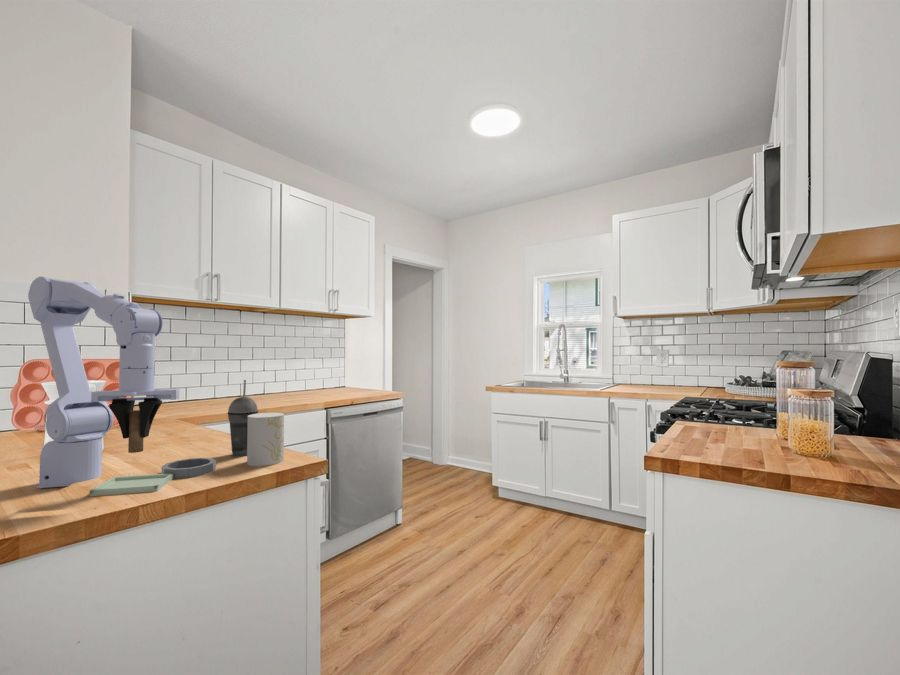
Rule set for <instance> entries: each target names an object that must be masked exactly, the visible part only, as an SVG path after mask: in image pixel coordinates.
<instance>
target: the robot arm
mask: <svg viewBox="0 0 900 675" xmlns="http://www.w3.org/2000/svg"><path fill="white" fill-rule="evenodd" d="M27 298H28V302H29V305H30V309H31V313H32V316H33V319H34V320H36V321H38V322H39V323H40V328H41V330H42V331H41V332H42V334H43V335H42V336H43V340H44V343H45V347H46V350H47V353H48V354H47V355H48V358H49V362H50V365H51V370H52V373H53V378H54V382H55V386H56V389H57V393H58V394H57V395H58V398H56V399H55V400H54V401H52V402H51V403H50V404H49V405H48V406H46V409H45V417H46V418H45V419H46V420H45V429H46V430H45V431H46V433H47V435H48V437H49V438H50V439H51V441H48V442H46V443H45V444H44V445H43V447H42V449H41V451H40V455H39V478H38V479H39V484H38V485H37V486H36V489H44V488H45V489H46V488H59V487H60V488H61V487H69V486H71V485H73V484H75V483H80V482H87V481H91V480H94V479H98V478H99V477H101V476H102V469H103V468H102V464H103V463H102V460H103V437H107V433H108V432H109V431H110V430H111V429H112V427H113V425H114V417H115V419H116V420H117V423H118V425H119V427H120V431H121V435H122V436H121V437H122V439H124V440H125V439H129V411H133V410H135V409H134V408H135V403H136V401H139V402H138V405H137V406H138V408H139V409H138V410H140V418H141V425H140V437H141V438H143V439H144V438H147V437H149V434H150V431H151V427H152V424H153V421H154V419H155V417H156V414H157V412H158V410H159V409H160V407H161V405H162V403H163V400H174V401H175V400H178V399H179V400H180V389H178V388H177V389H176V388H175V389H174V388H173V389H171V388H170V389H169V388H168V389H165V388H163V389H161V388H160V389H159V388H158V389H157V388H156V389H155V369H156V368H155V366H156V360H155V359H156V357H155V356H156V337H157V336H158V335H160V333H161V331H162V329H163V325H164V324H163V323H164V322H163V317H162V315H161V313H160V312H159V311H158V310H156V309H155V308H147V309H146V308H142V307H140V306H139V303H137V302H134V301H133V302H131V301H129V300H127V299H126V296H125V295H124V294H121V293H113V294H108V295H106V294H105V293H103V292H102V291H100V290H98V289H97V287H96V285H95V284H92V283H90V282H81V281H72V280H65V279H59V278H58V279H57V278H50V277H45V276H38V277H36V278H35V279H33V280H32V282H31V284H30V286H29V290H28V293H27ZM91 309H92V310H94V313H95V316H96V317H97V318H99V319H100V320H101V321H103V322H105V323H106V324H109V325H110V326H112V328H113V331H114V334H115V336H116V344H117V345H118V346H119V361H118V362H119V370H118V371H119V374H118V390H117V389H116V390H95V391H92V390H91V388H90V384H89V380H88V377H87V373H86V370H85V367H84V363H83V359H82V355H81V351H80V347H79V343H78V340H77V337H76V333H75V329H74V325H77V324H78V323H82V322H83V321H84V319H85V318H86V317H87V315H88V314H89V312H90V310H91ZM139 396H140V397H139ZM141 396H142V397H141ZM143 396H144V397H143ZM145 396H146V397H145ZM107 402H111V403H109V405H108V404H107Z"/></svg>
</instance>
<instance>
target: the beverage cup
mask: <svg viewBox="0 0 900 675" xmlns="http://www.w3.org/2000/svg"><path fill="white" fill-rule="evenodd" d="M246 383H247V380H246V379H243V389H242V390H243V392H242V393H243V394H242V396H240V397H237V398H235V399H234V400H233V401H231V403H230V405H229V407H228V409H227V410H228V411H227V416H228V417H227V418H228V422H229V429H230V431H229V432H230V441H231V442H230V444H231V453H232V456H233V457H247V425H248V415H252V414H258V413H259V410H258V409H259V408H258V405H257V403H256V401H255V400H254V399H252V398H250V397H249V396H246V388H247V387H246V385H247V384H246Z"/></svg>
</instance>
